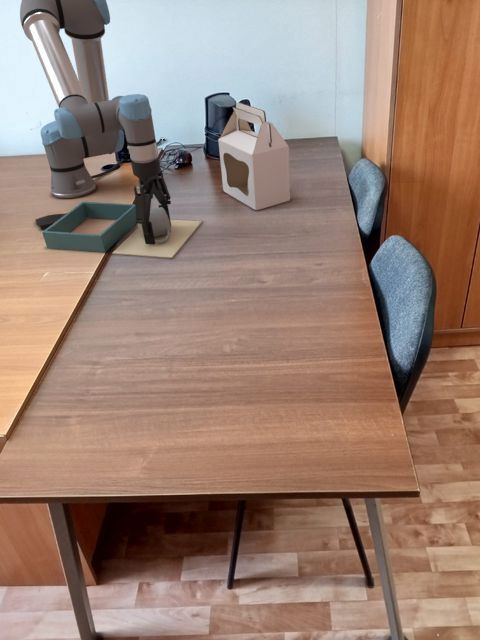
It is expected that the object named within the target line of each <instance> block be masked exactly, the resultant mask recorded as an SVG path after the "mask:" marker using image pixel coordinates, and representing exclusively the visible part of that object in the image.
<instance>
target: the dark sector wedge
mask: <svg viewBox="0 0 480 640" xmlns="http://www.w3.org/2000/svg"><path fill="white" fill-rule="evenodd" d="M67 213H68V212H66V213H55V214H47V215H44V216H42V217H38V218H35V220H34V221H35V224H36V225H37V226H38V227H39V228H40V230H41V231H44V230H46V229H47V228H48V227H50V226H51V225H52V224H54V223H55V222H56V221H58V220H59V219H60V218H62V217H63V216H64V215H66V214H67Z"/></svg>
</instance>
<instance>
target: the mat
mask: <svg viewBox="0 0 480 640" xmlns="http://www.w3.org/2000/svg"><path fill="white" fill-rule="evenodd" d="M170 221H171V233H169V239H168V241H167V242H165V243H162V244H156V243H155V244H154V245H153V244H145V239H144V237H143V236H142V235H141V233H140V231H139V228H138V227H137V228H136V229H135V230H134V231H133V232H132V233H131V234H130V235H129V236H128V237H126V239H125V240H124V241H123V242H122V243H121V244H120V245H118V247H116V249H115V250H114V251H113V252H111V253H112V255H118V256H120V255H121V256H130V257H131V256H132V257H148V258H160V259H170V260H171V259H173V258H174V257H175V256H176V255H177V253H178V252H179V251H180V250H181V249H182V247H183V246H184V245H185V243H186V242H187V241H188V240H189V239H190V238H191V236H192V235H193V234H194V233H195V231H196V230H197V229H198V228H199V227H200V226H201V224H202V222H203V221H201V220H187V219H186V220H185V219H170ZM166 236H167V234H165V235H161V236H157V237H154V239H155V240H162V239H165V238H166Z"/></svg>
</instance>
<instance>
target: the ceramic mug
mask: <svg viewBox="0 0 480 640" xmlns="http://www.w3.org/2000/svg"><path fill="white" fill-rule="evenodd" d="M149 222H151V223H152V229H153V234H154V237H157V236H161V235H165V234H167V236H166V238H165V239H162V240H155V243H156V244H162V243H165V242H167V241H168V239H169V233H171V226H170V221H169V218H168V216H167V213H166V211H165V210H164V208H163V207H160V208H159V207H156V208H154V209H150V219H149ZM137 228H139V231H140V233H141V235H142V236H143V237H144V234H143V229H142V224H137Z"/></svg>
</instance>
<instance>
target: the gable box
mask: <svg viewBox="0 0 480 640" xmlns="http://www.w3.org/2000/svg"><path fill="white" fill-rule="evenodd" d="M232 109H233V112H232V114H231V115H230V117H229V118H228V121H227V122H226V124H225V126H224V128H223V130H222V131H221V134H220V136H219V137H218V140H217V141H218V151H219V160H220V161H219V162H220V171H221V182H222V191H223V192H224V193H225V194H227V195H229V196H231V197H232V198H234V199H236V200H237V201H239V202H241V203H242V204H244V205H246V206H247V207H249V208H250V209H253V210H254V211H260V210H263V209H267V208H269V207H274V206H276V205H280V204H284V203H287V202H290V201H291V186H290V185H291V183H290V182H291V181H290V146H289V145H288V143H287V141H285V139H284V137H283V136H282V135H281V133H280V132H279V130H277V128H276V126H275V125H274V123H272V122H271V121H267V116H266V115H267V114H266V112H265V110H264V109H260V108H258V107H254V106H252V105H248V104H246V103H242V102H236V107H235V106H232ZM249 123H251V124H254V125H256V126H259V131H258V132H255V131H253V130H252V129H251V127H250V124H249Z"/></svg>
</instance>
